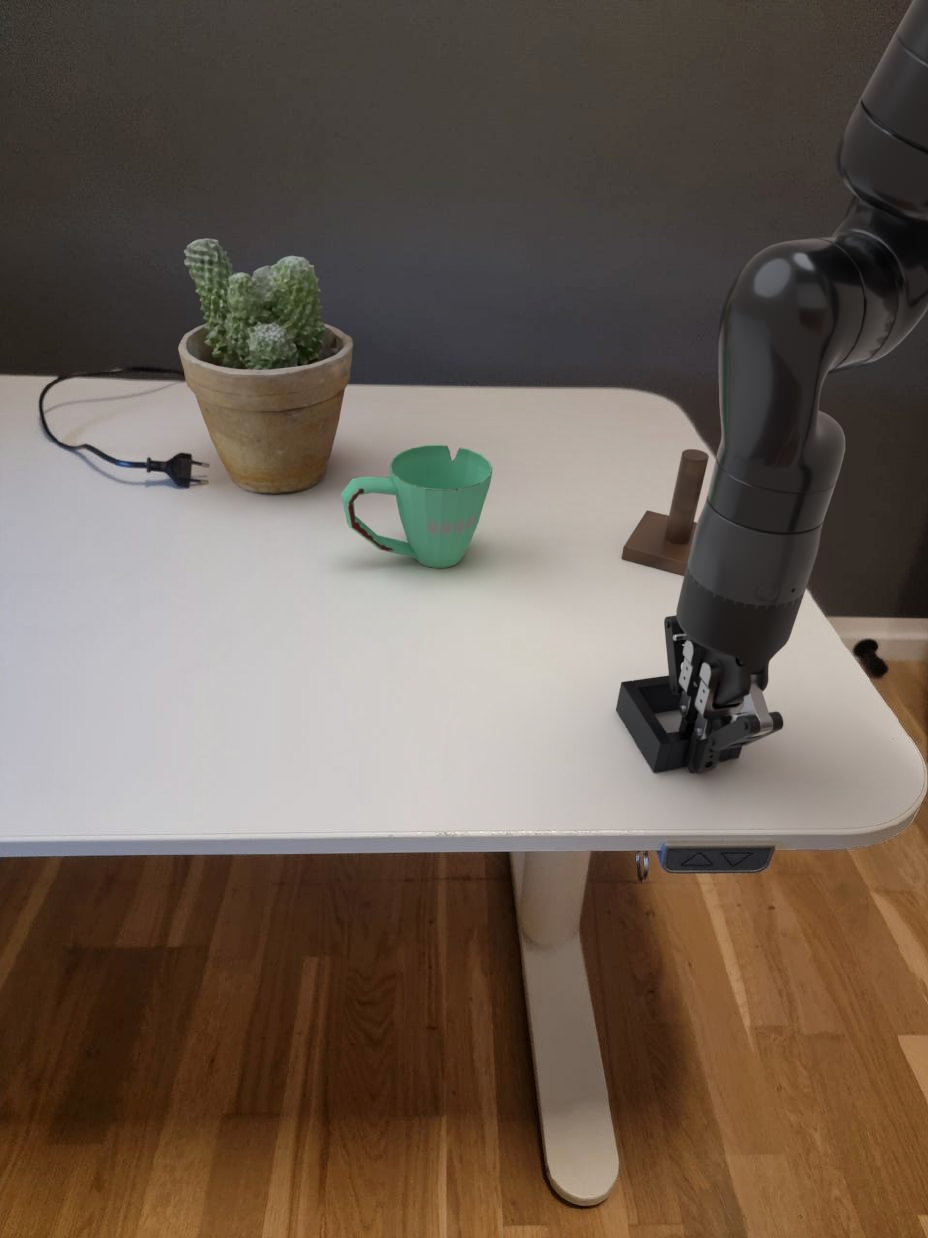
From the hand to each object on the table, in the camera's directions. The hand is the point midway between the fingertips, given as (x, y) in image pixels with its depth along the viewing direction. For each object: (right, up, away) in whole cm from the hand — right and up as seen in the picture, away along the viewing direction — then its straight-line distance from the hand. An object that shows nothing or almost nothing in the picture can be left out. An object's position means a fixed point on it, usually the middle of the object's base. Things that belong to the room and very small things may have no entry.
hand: (693, 760), depth 66 cm
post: (+5, +18, +26) cm, 32 cm away
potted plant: (-39, +28, +36) cm, 60 cm away
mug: (-22, +17, +22) cm, 36 cm away
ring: (-1, +2, +2) cm, 3 cm away
